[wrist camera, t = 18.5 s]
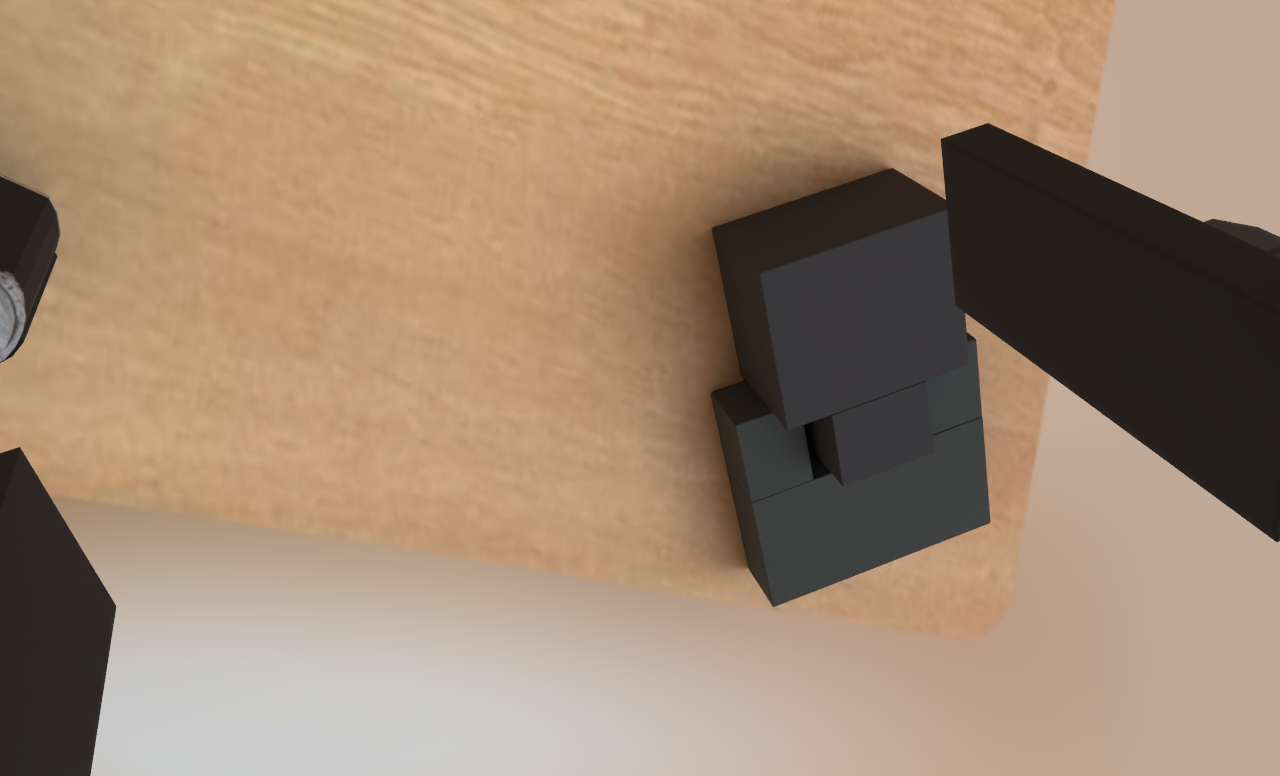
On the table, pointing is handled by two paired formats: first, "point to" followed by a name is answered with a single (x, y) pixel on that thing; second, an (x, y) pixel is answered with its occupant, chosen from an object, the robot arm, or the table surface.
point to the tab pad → (847, 317)
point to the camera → (23, 259)
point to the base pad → (849, 490)
